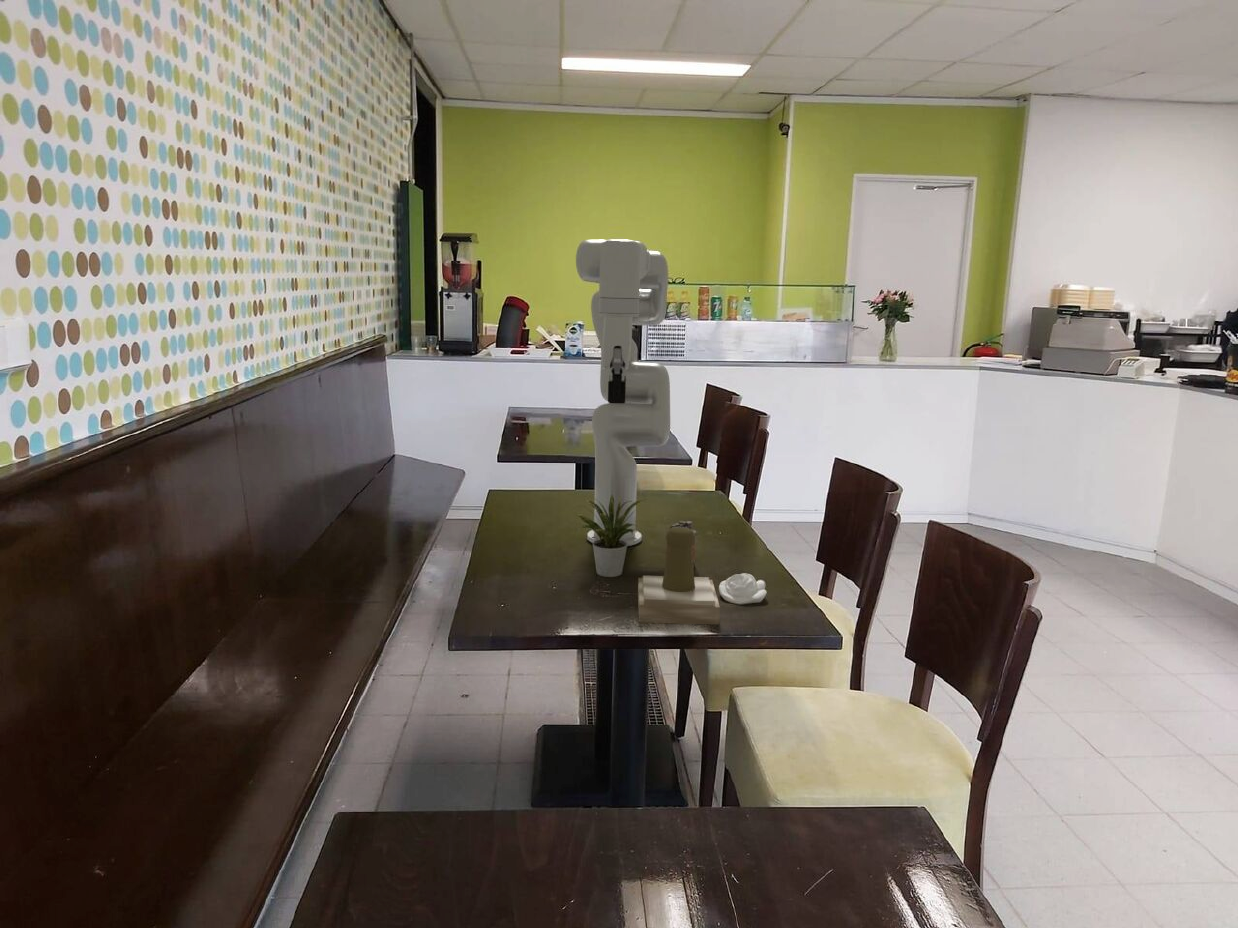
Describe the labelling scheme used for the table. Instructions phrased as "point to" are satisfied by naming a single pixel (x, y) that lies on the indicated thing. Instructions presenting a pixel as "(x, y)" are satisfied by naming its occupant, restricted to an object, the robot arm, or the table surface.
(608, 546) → the house plant
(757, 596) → the rose
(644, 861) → the table surface
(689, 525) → the lighter
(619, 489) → the robot arm
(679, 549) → the cork
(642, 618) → the birch plinth
